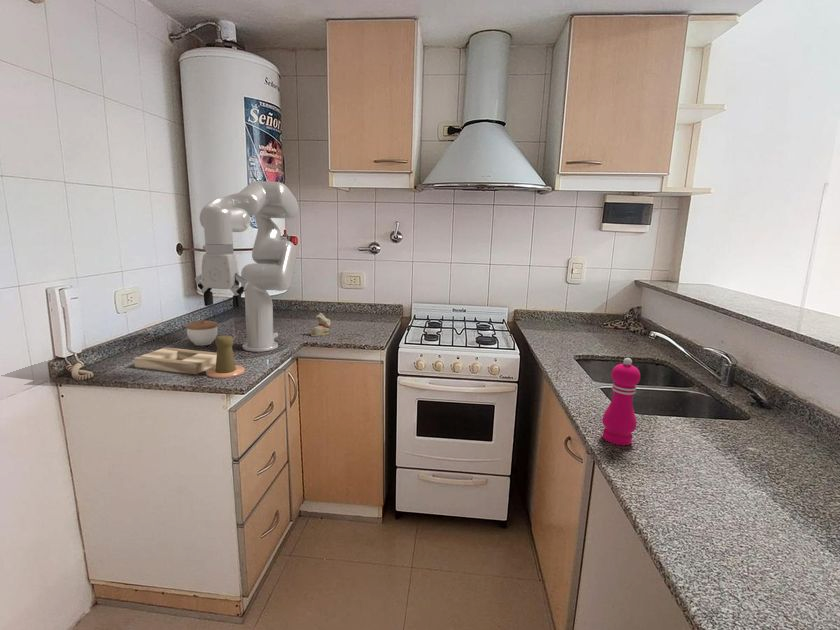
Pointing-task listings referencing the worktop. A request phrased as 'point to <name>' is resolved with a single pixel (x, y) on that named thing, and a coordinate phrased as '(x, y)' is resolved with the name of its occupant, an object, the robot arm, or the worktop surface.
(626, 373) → the pepper mill
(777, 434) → the worktop surface
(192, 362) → the wooden tray
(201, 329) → the white bowl
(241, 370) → the coaster
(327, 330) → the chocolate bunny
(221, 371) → the olive waisted cylinder
